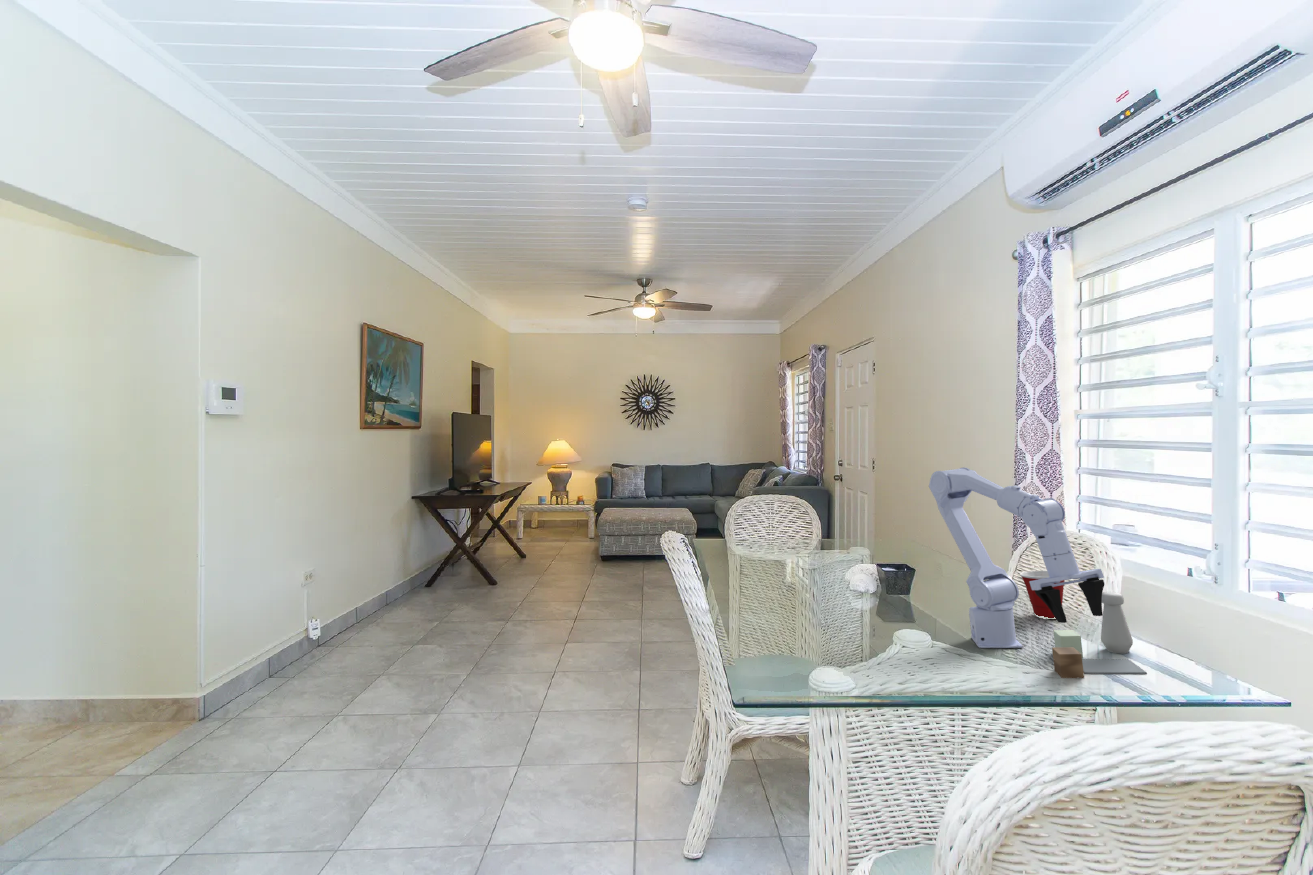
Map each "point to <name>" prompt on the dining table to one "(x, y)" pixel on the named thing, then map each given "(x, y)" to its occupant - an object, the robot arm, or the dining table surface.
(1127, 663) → the slate mat
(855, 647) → the dining table surface
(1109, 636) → the salt shaker
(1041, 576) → the plastic cup
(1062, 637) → the sage block
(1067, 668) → the walnut block
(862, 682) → the dining table surface
